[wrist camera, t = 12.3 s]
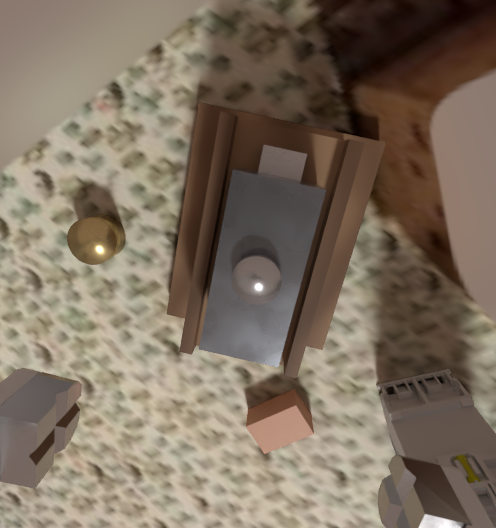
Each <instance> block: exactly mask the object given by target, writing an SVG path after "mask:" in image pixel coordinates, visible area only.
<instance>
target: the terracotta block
mask: <svg viewBox="0 0 496 528" xmlns="http://www.w3.org/2000/svg"><path fill="white" fill-rule="evenodd" d="M246 427H247V429H248V430H249V432H250V433H251V435H252V436H253V438H254V439H255V441H256V442H257V444H258V445H259V446H260V448H261V449H262V451H263V452H264V454H266V453H268V452H271V451H273V450H276V449H278V448H280V447H283V446H285V445H288V444H290V443H293V442H295V441H298V440H300V439H303V438H305V437H308V436H310V435H313V434H314V431H313V423H312V416H311V414H310V412H309V411H308V409H307V408H306V406H305V404H304V403H303V401H302V400H301V398H300V396H299V395H298V393H297V392H296V390H295V389H293V390H291V391H288V392H286V393H284V394H281V395H279V396H277V397H275V398H272V399H270V400H268V401H265V402H263V403H261V404H259V405H256V406H254V407H252V408H249V409H248V415H247V423H246Z"/></svg>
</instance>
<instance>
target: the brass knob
mask: <svg viewBox="0 0 496 528" xmlns="http://www.w3.org/2000/svg"><path fill="white" fill-rule="evenodd" d="M125 240H126V237H125V232H124V229H123V227H122V225H121V224H120V223H119V222H118V221H117V220H116V219H115V218H113V217H111V216H109V215H105V214H99V215H95V216H91V217H88V218H85V219H82V220H79V221H77V222H75V223H74V224H73V225H72V226H71V227H70V229H69V231H68V235H67V241H68V246H69V248H70V250H71V252H72V254H73V255H74V256H75V257H76V258H77V259H78V260H80V261H82V262H84V263H86V264H91V265H96V264H100V263H103V262H104V261H106V260H108V259H109V258H111V257H113V256H115V255H116V254H118V253H119V252H120V251H121V250H122V249H123V247H124V245H125Z"/></svg>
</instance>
